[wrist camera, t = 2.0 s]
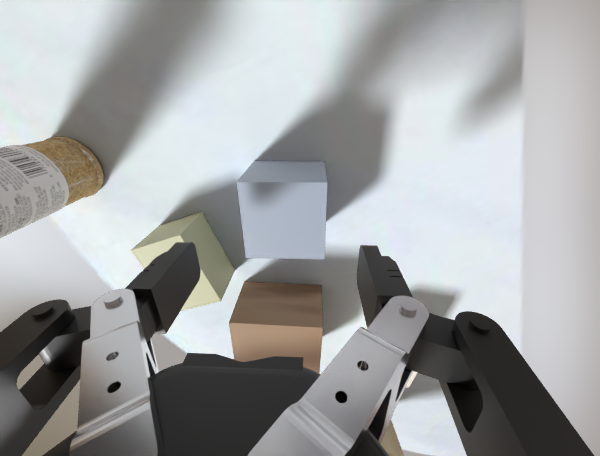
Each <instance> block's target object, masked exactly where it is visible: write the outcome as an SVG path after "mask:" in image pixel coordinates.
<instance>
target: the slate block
mask: <svg viewBox="0 0 600 456" xmlns="http://www.w3.org/2000/svg"><path fill="white" fill-rule="evenodd" d="M237 190H238V198H239V206H240V214H241V223H242V231H243V239H244V247H245V255H246V258H280V259H324V257H325V232H326V207H327V175H326V168H325V161H254V162H253V163H252V164H251V166H250V167H249V168H248V169H247V170H246V172H245V173H244V174H243V175H242V176H241V177H240V179H239V180H238V181H237Z"/></svg>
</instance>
